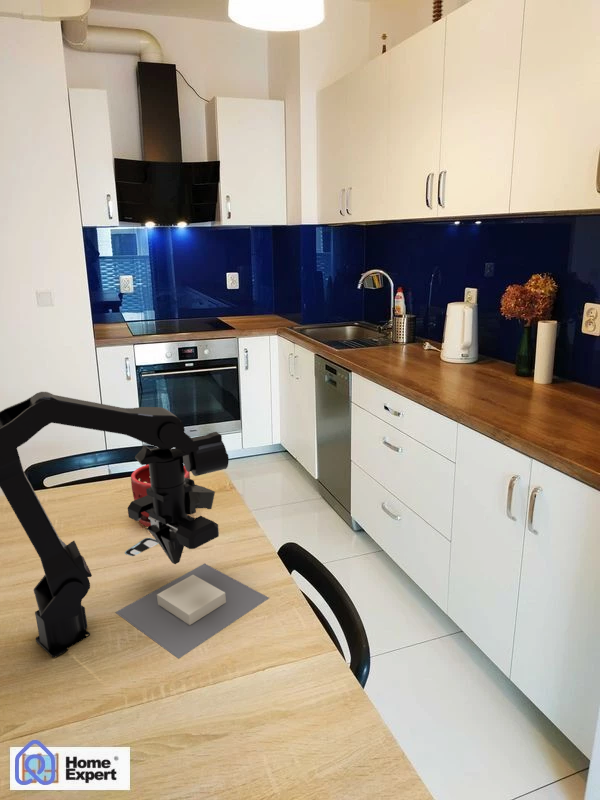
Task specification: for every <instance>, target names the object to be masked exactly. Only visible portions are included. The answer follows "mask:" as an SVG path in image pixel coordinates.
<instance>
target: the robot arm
mask: <svg viewBox="0 0 600 800" xmlns="http://www.w3.org/2000/svg"><path fill="white" fill-rule="evenodd" d="M51 424H59V425H63V426H69V427H76V428H81V429H88V430H95V431H101V432H107V433H111V434H113V433H114V434H119V435H125V436H128V437H131V438H133V439H134V440H138V441H139V442H143V443H144V444H147V445H150V446H153V447H155V448H149V447H148V446H147V445H143V446H142V448H141V449H140V450H139V452H138V453H137V454H136V455H134V456H135V457H134V458H135V460H136V461H137V462H138V463H139V464H140V465H141V466H145V465H148V464H149V471H150V481H151V487H150V488H147V489H146V492H147V496H144V497H142V498H139V499H137V500H134V499H133V500H132V501H130V504H129V505H128V507H127V513H128V514H127V515H128V518H129V519H131V520H133V521H135V522H138V521H139V520H140V519H141V518H142V517H141V513H142V512H144V511H145V512H147V513H149V517H148V519H150V521H151V526H149V527H148V526H146V527H147V528H146V529H147V531H148V532H150V534H151V535H152V537H153V539H155V540H157V542H158V543H159V544H158V545H159V546H160V547H161V548H162V550H163V552H164V553H165V555H166V556H167V557H168V559H169V561H170V562H171V563H172V564H174V565H177V564H178V563H180V561H181V558H182V554H183V551H184V547H185V548H187V549H188V550H195V549H198V548H199V547H200V546H203V545H204V544H207V543H209V542H211V541H213V540H215V539H216V538H218V537H219V535H220V533H219V532H220V531H219V530H220V529H219V523H217V522H215V521H214V520H211V519H209V518H206V517H205V516H202V515H199V516H197V517H192V516H191V515H193V514H196V513H197V509H206V510H211V509H212V507H213V504H214V499H215V493H216V491H214V490H212V489H211V488H208V487H205V486H202V485H198V484H195V480H194V479H191V478H190V479H189V478H185V475H184V466H185V469H186V470H187V471H188V472H191V473H192V475H193V476H195V477H198V476H202V475H206V474H210V473H215V472H219V471H223V470H226V469H228V467H229V462H230V461H229V458H230V457H229V454H228V453H227V449H226V446H225V444H224V441H223V438H222V437H223V436H222V434H220V433H219V432H217V431H213V432H210V433H207V434H204V435H199V436H195V437H191V436H190V435H188V434H187V433H186V431H185V424H184V422H183V420H181V418H180V417H178V416H176V414H174V413H173V412H171V411H170V410H168V409H167V408H164V407H160V406H138V407H132V408H131V407H126V408H125V407H119V406H115V405H110V404H105V403H99V402H94V401H88V400H83V399H78V398H72V397H66V396H61V395H56V394H53V393H51V392H48V391H40V392H36V393H35V394H33V395H32V396H31V397H29V398H27V399H25V400H22V401H20V402H18V403H16V404H13V405H10V406H8V407H6V408H3V409H2V410H0V489H1V491H2V493H3V495H4V496H5V498H6V499H7V502H8V503H9V505H10V507H11V509H12V510H13V512H14V514H15V516H16V518H17V520H18V521H19V523H20V525H21V527H22V528H23V530H24V532H25V534H26V535H27V537H28V539H29V541H30V543H31V544H32V546H33V548H34V550H35V551H36V554H38V557H39V558H40V562H41V565H42V568H43V573H44V575H43V577H41V579H40V580H39V582H38V583H37V584H36V586H35V587H33V594H34V597H35V600H36V605H37V608H38V609H37V610H36V611H34V616H35V621H36V625H37V631H38V636H36V637H35V642H36V643H37V644H38V645H39V646H40V647H41V648H42V649H43V650H44V651H46V653H47V654H49V655H50V656H51V657H52V658H56V657H58V656H60V655H62V654H63V653H66V652H68V651H69V648H71V647H73V646H74V645H76V644H78V643H80V642H82V641H83V640H85V639H87V638H88V637H90V636H91V632H89V631H88V630H87V629H88V626H89V625H88V622H87V614H86V613H87V612H86V607H85V606H84V605H82V601H83V599H84V598H85V596H87V594H88V592H89V590H90V588H91V583H90V579H89V578H91V577H92V576H93V575H92V573H91V570H90V568H89V566H88V564H87V562H86V560H85V557H84V556H83V555H82V554H81V552H80V550H79V547H78V546H77V544H76V543H77V542H76V541H75V540H72V541H70V542H69V543H68V544H66V543H65V541H63V540H62V539H61V538H60V537H59V534H58V533H57V530H56V529H55V527H54V525H53V523H52V521H51V520H50V518H49V516H48V514H47V512H46V510H45V508H44V506H43V504H42V503H41V501H40V499H39V498H38V495H37V493H36V491H35V489H34V488H33V485H32V484H31V482H30V481H29V479H28V477H27V474H26V473H25V471H24V468H23V464H22V462H21V456H20V454H19V450H18V448H19V447H21V446H22V445H24V444H25V443H27V442H28V441H29V440H30V439H32V438H33V437H34V436H35V435H36V434H38V433H39V432H40V431H41V430H43V429H44V428H45V427H47V426H49V425H51Z"/></svg>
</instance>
